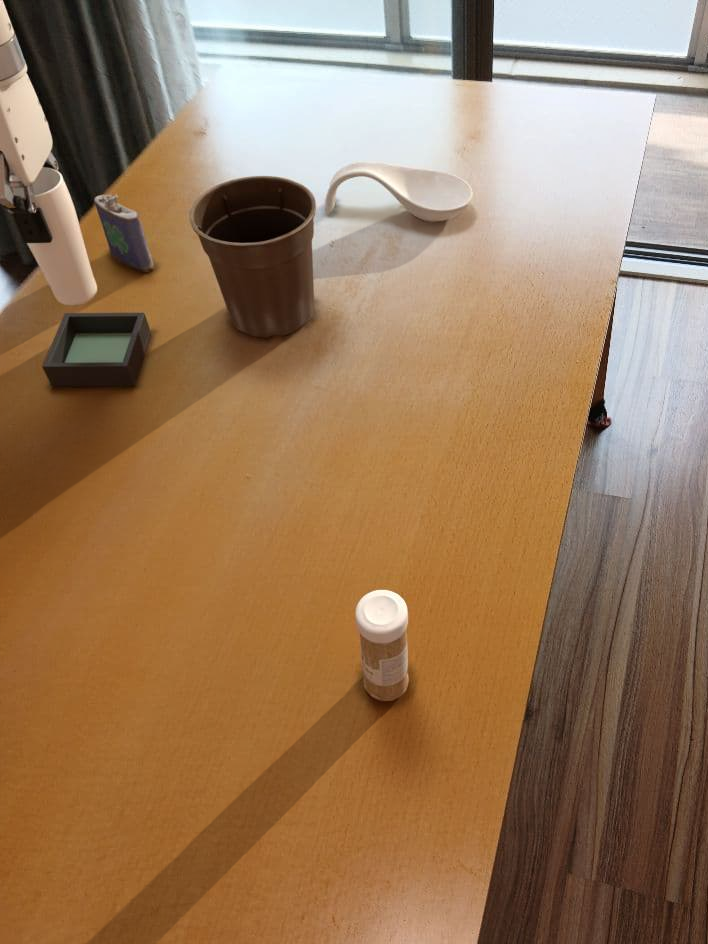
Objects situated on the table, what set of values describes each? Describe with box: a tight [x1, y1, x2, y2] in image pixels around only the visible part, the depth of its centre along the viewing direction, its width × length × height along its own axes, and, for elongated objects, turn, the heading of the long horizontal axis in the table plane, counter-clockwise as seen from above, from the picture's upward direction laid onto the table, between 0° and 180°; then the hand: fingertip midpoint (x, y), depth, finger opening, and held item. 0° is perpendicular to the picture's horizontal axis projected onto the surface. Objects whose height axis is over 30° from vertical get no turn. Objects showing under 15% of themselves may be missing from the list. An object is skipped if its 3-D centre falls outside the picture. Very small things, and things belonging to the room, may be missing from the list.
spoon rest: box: [324, 161, 474, 223], centre depth 129 cm, size 24×12×7 cm, turn 85°
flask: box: [93, 193, 155, 273], centre depth 121 cm, size 9×3×11 cm, turn 50°
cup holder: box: [41, 312, 152, 388], centre depth 110 cm, size 11×11×4 cm
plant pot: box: [188, 175, 317, 339], centre depth 110 cm, size 16×16×16 cm
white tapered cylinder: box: [10, 167, 98, 307], centre depth 97 cm, size 7×7×15 cm
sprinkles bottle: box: [355, 589, 410, 702], centre depth 75 cm, size 5×5×13 cm
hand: (47, 221), depth 95 cm, fingers closed on white tapered cylinder, 6 cm apart
